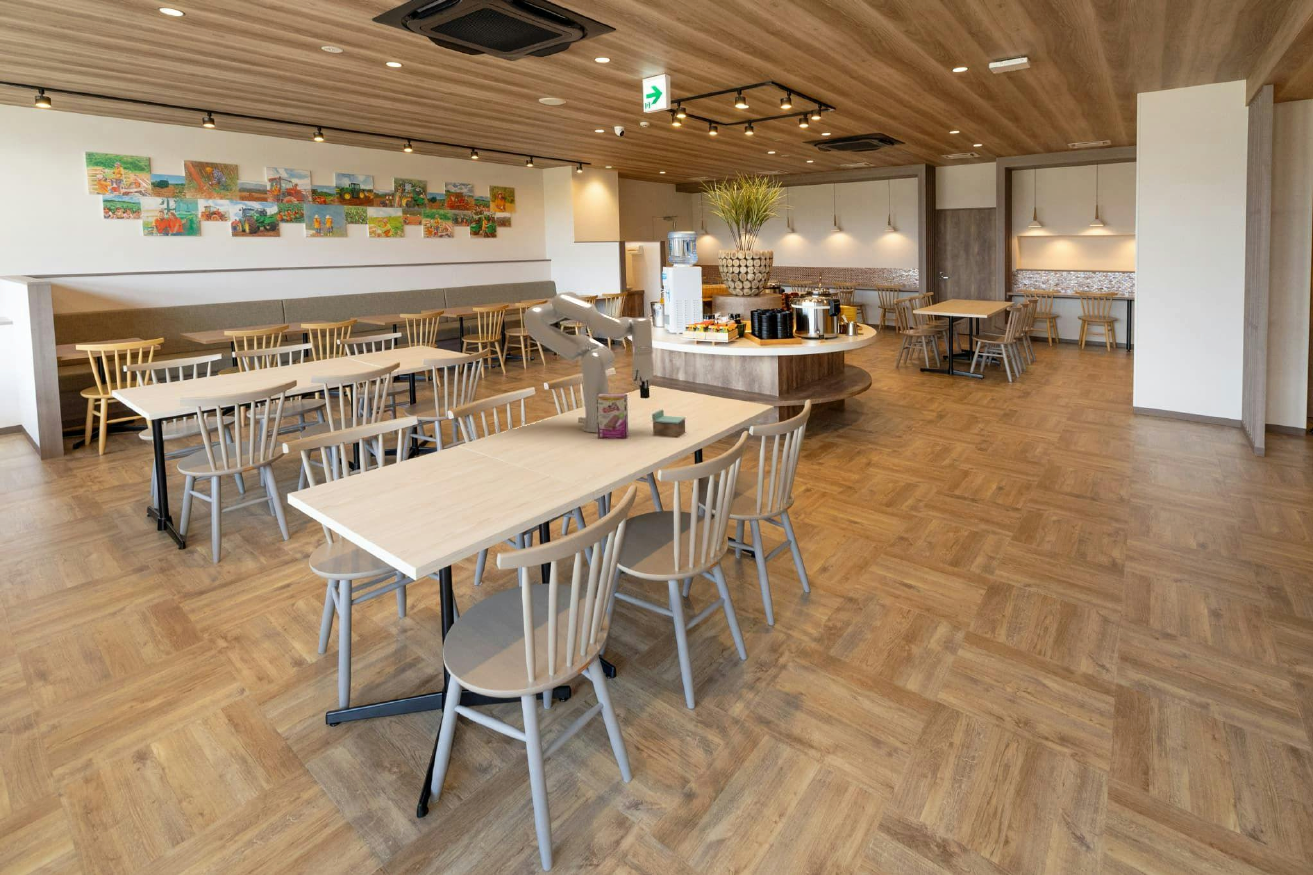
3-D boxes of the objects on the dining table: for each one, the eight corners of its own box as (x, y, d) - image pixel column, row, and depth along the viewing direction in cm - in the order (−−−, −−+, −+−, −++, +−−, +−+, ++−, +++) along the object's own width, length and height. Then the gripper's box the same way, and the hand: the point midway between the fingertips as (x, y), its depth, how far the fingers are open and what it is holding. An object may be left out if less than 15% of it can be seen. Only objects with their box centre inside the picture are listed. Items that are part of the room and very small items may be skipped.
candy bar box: (598, 438, 278) (596, 396, 274) (600, 435, 283) (598, 393, 279) (627, 438, 277) (625, 396, 273) (628, 435, 282) (627, 393, 278)
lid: (652, 421, 280) (652, 414, 279) (660, 417, 287) (660, 409, 286) (677, 423, 275) (677, 416, 275) (685, 419, 283) (685, 411, 282)
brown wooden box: (653, 435, 281) (652, 422, 280) (661, 430, 288) (661, 417, 287) (677, 437, 277) (677, 424, 276) (685, 432, 284) (685, 419, 283)
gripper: (641, 347, 286) (644, 393, 291) (625, 353, 273) (627, 401, 278) (659, 347, 283) (661, 394, 288) (643, 353, 270) (645, 402, 275)
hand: (645, 397), depth 283 cm, fingers closed
